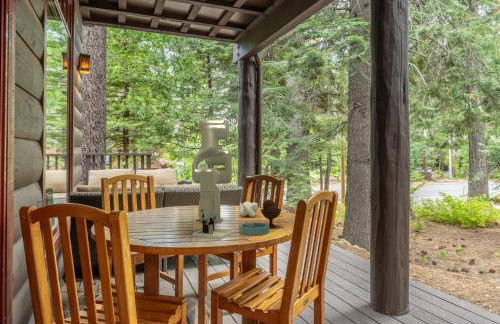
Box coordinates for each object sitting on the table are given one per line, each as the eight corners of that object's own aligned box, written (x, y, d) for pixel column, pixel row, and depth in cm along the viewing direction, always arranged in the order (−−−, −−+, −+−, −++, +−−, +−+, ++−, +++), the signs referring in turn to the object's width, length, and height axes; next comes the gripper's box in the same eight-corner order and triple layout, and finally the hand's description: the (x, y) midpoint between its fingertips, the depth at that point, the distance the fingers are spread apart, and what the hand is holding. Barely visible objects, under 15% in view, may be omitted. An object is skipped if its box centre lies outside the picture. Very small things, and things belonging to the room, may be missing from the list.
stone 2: (243, 231, 178) (243, 222, 178) (247, 229, 182) (247, 221, 182) (251, 232, 176) (251, 223, 176) (255, 230, 180) (255, 221, 180)
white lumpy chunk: (253, 214, 236) (253, 200, 236) (262, 216, 225) (262, 202, 225) (238, 215, 231) (237, 201, 230) (246, 218, 220) (246, 204, 220)
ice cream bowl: (280, 229, 187) (279, 200, 187) (259, 228, 190) (258, 200, 189) (282, 225, 198) (282, 198, 197) (262, 224, 200) (262, 197, 200)
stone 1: (202, 234, 174) (202, 225, 174) (207, 232, 178) (207, 223, 178) (209, 235, 172) (209, 226, 172) (214, 233, 176) (214, 224, 176)
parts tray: (192, 237, 171) (192, 233, 171) (209, 231, 184) (209, 227, 184) (220, 240, 164) (220, 236, 164) (236, 234, 176) (236, 230, 176)
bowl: (235, 234, 175) (234, 226, 175) (248, 229, 188) (248, 221, 188) (260, 237, 169) (260, 229, 169) (272, 231, 181) (272, 223, 181)
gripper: (211, 192, 184) (211, 227, 184) (191, 196, 169) (191, 234, 170) (223, 193, 181) (224, 229, 181) (204, 196, 166) (204, 236, 166)
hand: (208, 231), depth 175 cm, fingers closed on stone 1, 4 cm apart
